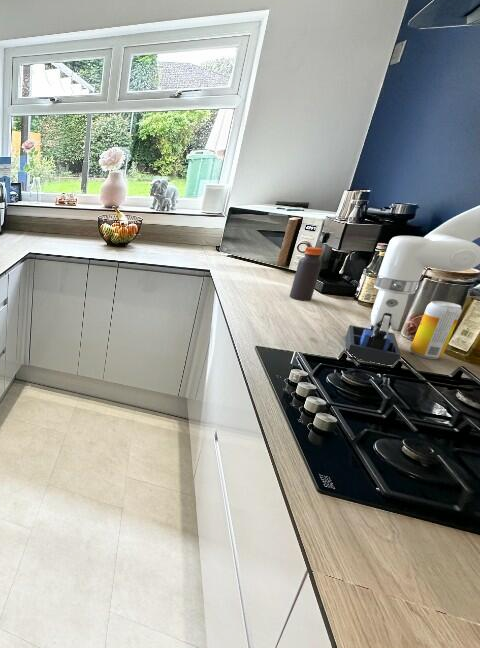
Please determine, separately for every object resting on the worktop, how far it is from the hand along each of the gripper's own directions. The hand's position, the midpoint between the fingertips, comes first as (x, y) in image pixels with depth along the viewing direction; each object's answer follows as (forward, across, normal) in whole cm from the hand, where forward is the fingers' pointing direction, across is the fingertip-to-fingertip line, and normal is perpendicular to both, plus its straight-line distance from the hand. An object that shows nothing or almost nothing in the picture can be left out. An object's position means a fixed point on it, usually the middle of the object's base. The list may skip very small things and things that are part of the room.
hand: (372, 347), depth 109 cm
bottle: (+3, +51, +18) cm, 54 cm away
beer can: (+3, +11, -12) cm, 16 cm away
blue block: (+1, 0, 0) cm, 1 cm away
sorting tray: (+3, +4, 0) cm, 5 cm away
